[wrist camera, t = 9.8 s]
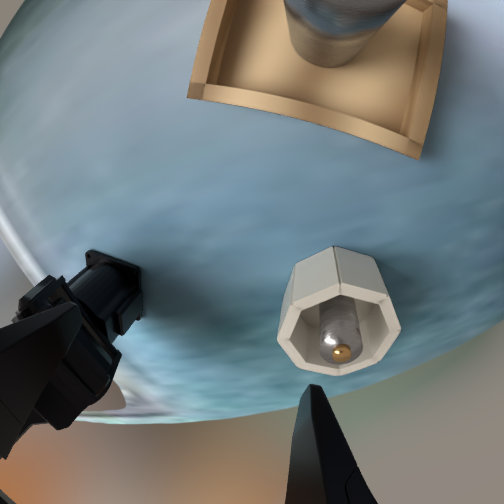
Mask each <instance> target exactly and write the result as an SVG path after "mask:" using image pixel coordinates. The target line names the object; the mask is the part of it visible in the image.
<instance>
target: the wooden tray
mask: <svg viewBox="0 0 504 504" xmlns="http://www.w3.org/2000/svg"><path fill="white" fill-rule="evenodd" d="M447 4H448V1H447V0H407V1H406V2H405V3H404V4H403V5H402V6H401V7H400V8H399V9H398V10H397V11H396V12H395V13H394V15H393V16H392V17H391V18H390V19H389V20H388V21H387V22H386V23H385V24H384V25H383V26H382V28H381V29H380V30H379V31H378V32H377V33H376V34H375V35H374V36H373V37H372V39H371V40H370V41H369V42H368V43H367V44H366V45H365V46H364V48H363V49H362V50H361V51H360V52H359V53H358V54H357V56H356V57H355V58H354V59H353V60H352V61H351V62H349V63H348V64H346V65H343V66H341V67H336V68H323V67H319V66H315V65H313V64H310V63H309V62H307V61H305V60H304V59H302V58H301V57H300V56H299V55H298V54H297V53H296V51H295V50H294V48H293V46H292V44H291V40H290V35H289V29H288V23H287V18H286V12H285V7H284V2H283V0H211V2H210V5H209V9H208V12H207V16H206V19H205V23H204V26H203V30H202V34H201V37H200V41H199V45H198V49H197V53H196V58H195V62H194V66H193V70H192V75H191V80H190V84H189V89H188V94H187V98H191V99H198V100H204V101H211V102H218V103H225V104H231V105H236V106H242V107H247V108H253V109H258V110H262V111H267V112H272V113H276V114H280V115H285V116H289V117H293V118H297V119H300V120H304V121H308V122H312V123H315V124H319V125H322V126H325V127H329V128H332V129H335V130H338V131H342V132H345V133H348V134H351V135H354V136H357V137H360V138H362V139H365V140H368V141H371V142H373V143H376V144H379V145H381V146H384V147H387V148H389V149H392V150H394V151H397V152H399V153H401V154H404V155H407V156H409V157H412V158H414V159H416V160H419V158H420V154H421V151H422V148H423V144H424V141H425V137H426V133H427V129H428V126H429V122H430V118H431V113H432V109H433V105H434V100H435V96H436V91H437V86H438V80H439V75H440V69H441V63H442V56H443V49H444V41H445V32H446V21H447Z"/></svg>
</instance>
